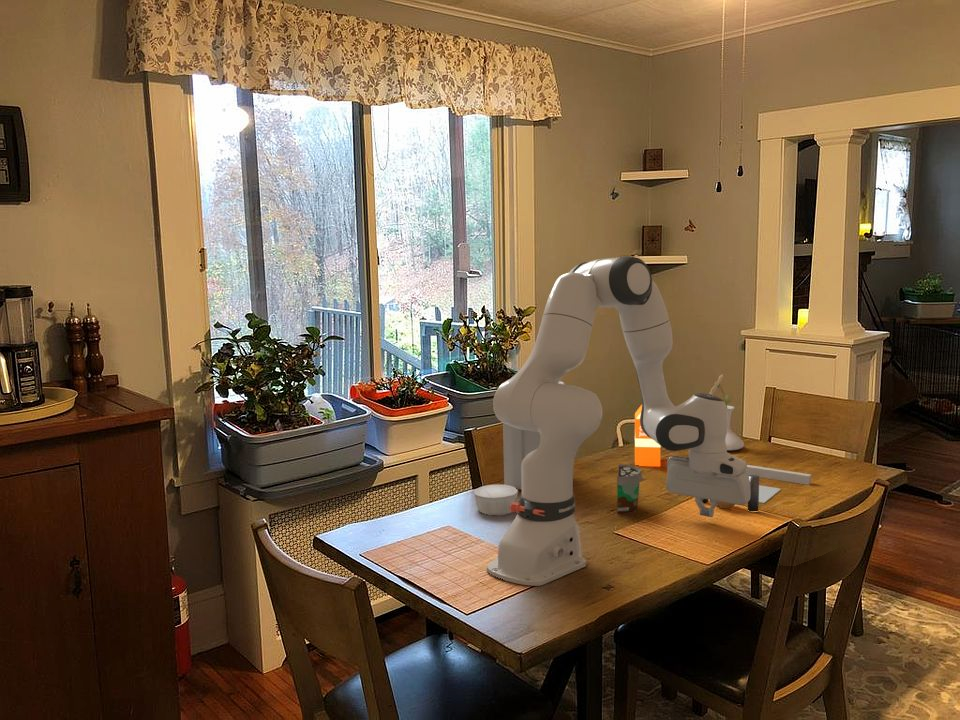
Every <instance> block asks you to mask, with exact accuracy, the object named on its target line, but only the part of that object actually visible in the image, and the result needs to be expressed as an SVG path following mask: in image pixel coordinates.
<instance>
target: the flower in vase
mask: <svg viewBox="0 0 960 720" xmlns="http://www.w3.org/2000/svg"><path fill="white" fill-rule="evenodd" d="M723 379H724V374H723V373H722V374H721V375H719V376H718V380H717V381H715V382H714V385H713V387H711V388H710V392H709V393H708V394H710V395H713V394H714V393H715V392H716V390H717V389H718V388H719V390H720V391H721V393H722V395H723V398H722V400H723V401H724V402H725V405H726V410H727V435H726V439H725V442H726V446H727V451H737V450H740V449H743V448H744V446H745V442H744V441H743V440H742V439H741V438H740V437H739V436H738V435H737V434H735V432H734V431H732V429H731V416H732V412H733V411H734V410H735V408H736V407H735V406H732V405H728V404H730V403H731V402H732V399H731V398H730V395H729V394H726V395H725V392H724V390H723V389H722V386H721V382H722V381H723Z"/></svg>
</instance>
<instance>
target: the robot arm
mask: <svg viewBox="0 0 960 720" xmlns="http://www.w3.org/2000/svg"><path fill="white" fill-rule="evenodd" d="M598 308H615V309H616V311H617V312H618V315H619V321H620V327H621V330H622V334H623V338H624V340H625V344H626V347H627V349H628V353H629V354H630V357H631V359H632V362H633V364H634V367H635V370H636V377H637V382H638V386H639V392H640V396H641V405H642V410H641V415H640V425H641V428H642V430H643V432H644V433H645V434H646V435H647V436H648V437H649V438H651V439H653V440H654V441H655V442H656V443H658V444H659V445H660V446H661V448H663V449H665V450H668V451H670V452H672V451H673V452H679V451H684V450H688V457H687V456H679V455H672V456H670V457H668V459H667V461H666V469H667V474H666V480H665V489H666V491H667V492H668V493H671V494H677V495H681V496H687V497H688V496H689V497H694V499H695V500H694V501H695V504H696V506H697V507H698V508H699V516H704V517H708V518H713V517H714V514H715V508H717V506H718V503H719V501H720V502H725V503H730V504H735V505H736V506H737V505H738V506H740V507H741V506H743V507H744V506H745V505H746V504H748V501H749V500H750V497H751V490H750V480H749V475H748V474H747V473H746V472H744V471H745V470H746V469H747V465H748V463H747V462H746V461H745V460H744V459H741V458H739V457H737V456H735V455H733V454H731V453H729V452H728V450H727V446H726V442H725V439H726V435H727V410H726V405H725V402H724V401H723V400H722V399H723V398H722V399H721V398H720V397H719V396H716V395H713V394H712V395H710V394H709V393H703V392H702V393H694V394H693V395H692V396H691V397H690V398H688V399H687V400H685V401H684V402H682V403H680V404H678V405H674V403H673V402H672V401H671V400H670V398H669V395H668V390H667V386H666V381H665V376H664V370H663V365H664V360H665V359H666V358H667V356H668V355H669V354H670V353H671V351H672V349H673V346H674V343H673V341H674V340H673V330H672V324H671V321H670V316H669V312H668V309H667V307H666V304H665V301H664V298H663V296H662V294H661V292H660V289H659V287H658V285H657V283H656V282H655V281H653V277H652V274H651V270H650V269H649V267H648V265H647V263H646V262H645V261H644V260H642V259H641V258H640V257H636V256H632V255H631V256H630V255H629V256H628V255H623V256H620V257H608V258H607V257H602V258H598V259H593V260H591V261H584V262H581V263H578V264H577V265H575V266H574V267H573V268H572V269H570V270H569V272H567V273H563V274H561V275H560V276H559V277H557V279H556V280H555V282H554V284H553V286H552V289H551V291H550V293H549V295H548V297H547V301H546V303H545V308H544V310H543V314H542V316H541V317H542V318H541V322H540V325H539V329H538V332H537V337H536V340H535V342H534V346H533V348H532V351H531V352H530V354H529V356H528V357H527V359H526V361H525V362H524V364H523V365H522V367H520V369H519V370H518V371H517V372H516V373H515V374H514V375H513V376H512V377H511V378H509V379H507V380H505V381H504V382H502V383H501V384H500V385H499V386H498V388H497V389H496V391H495V393H494V396H493V400H492V401H493V402H492V405H493V411H494V415H495V417H496V418H497V420H498V421H500V423H502V424H503V423H505V424H507V425H509V426H512V427H514V428H517V429H521V430H527V431H533V432H539V433H540V434H541V441H540V445H539V448H537V449H535V450H533V451H531V452H530V453H528V454H527V455H526V456H525V458H524V459H523V461H522V464H521V476H522V489H521V493H520V495H519V499H518V501H517V502H518V503H517V502H516V503H515V502H512V503H511V505H510V510H511V513H516V516H515V518H514V519H513V521H512V522H511V524H510V525H509V526H508V528H507V530H506V532H505V533H504V534H503V536H502V538H501V539H500V540H499V543H498V550H497V556H496V557H495V559H494V560H492V561H491V562H489V564H488V565H487V566H486V572H487V571H488V572H489V573H490V575H491V574H492V575H491V576H493V577H495V576H496V577H495V578H497V577H498V578H497V579H500V578H501V579H500V580H502V579H503V581H506V582H508V583H509V582H510V583H512V584H513V583H514V584H517V585H523V586H531V587H532V586H533V587H534V586H535V587H537V586H539V587H540V586H544V585H546V584H549V583H550V582H552V581H555V580H557V579H559V578H562V577H564V576H566V575H568V574H571V573H573V572H575V571H578V570H580V569H582V568H585V567H587V561H586V559H585V558H584V557H583V556H582V555H583V554H582V544H581V543H582V541H581V535H580V534H581V532H580V527H579V524H578V523H577V521H576V518H575V514H574V513H576V498H575V494H574V491H573V490H574V488H573V487H574V486H573V485H574V484H573V481H574V480H573V479H574V463H575V459H576V455H577V452H578V451H579V449H580V446H581V445H582V444H583V442H584V441H585V440H586V439H587V438H589V437H590V436H592V435H593V434H594V433H595V432H596V431H597V430H598V428H599V427H600V425H601V422H602V418H603V406H602V403H601V401H600V398H599V397H598V395H597V394H596V393H595V392H593V391H591V390H588V389H586V388H583V387H580V386H577V385H574V384H573V385H572V384H565V383H564V384H558V383H559V381H561V380H562V378H563V377H564V376H565V375H566V374H567V373H568V372H570V371H571V370H574V369H576V368H578V367H580V365H581V364H583V362H584V360H585V359H586V355H587V352H588V347H589V343H590V339H591V333H592V329H593V326H594V321H595V315H596V311H597V309H598ZM704 499H708V501H709V504H710V507H708V506H707V507H706V506H705V503H703V501H702V500H704ZM488 572H487V573H488ZM489 573H488V574H489Z"/></svg>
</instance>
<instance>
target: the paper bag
mask: <svg viewBox="0 0 960 720" xmlns="http://www.w3.org/2000/svg"><path fill="white" fill-rule="evenodd" d="M558 384H565V382H564V381H561V380H560V381H559V383H558ZM502 431H503V432H502V433H503V435H502V436H503V438H502V439H503V441H502V442H503V481H504V482H503V483H504V484H503V485H509V486H512V487H515V488H517V490H522V476H521V464H522V461H523V459H524V458H525V456H526V455H527V454H528V453H530V452H531V451H533V450H535V449H537V448H539V445H540V441H541V434H540V433H539V432H533V431H527V430H521V429H517V428H514V427H512V426H509V425H507V424H505V423H503V422H502Z"/></svg>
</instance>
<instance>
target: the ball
mask: <svg viewBox="0 0 960 720" xmlns="http://www.w3.org/2000/svg"><path fill="white" fill-rule="evenodd" d="M735 505H736V504H730V503H725V502H720V501H719V503H718V504H717V506H718V507H721V508H723V509H729V508H733V507H734V506H735Z"/></svg>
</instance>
